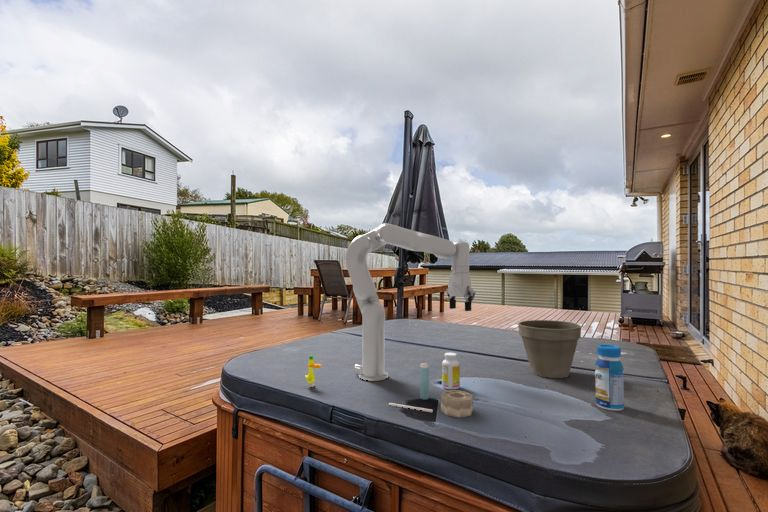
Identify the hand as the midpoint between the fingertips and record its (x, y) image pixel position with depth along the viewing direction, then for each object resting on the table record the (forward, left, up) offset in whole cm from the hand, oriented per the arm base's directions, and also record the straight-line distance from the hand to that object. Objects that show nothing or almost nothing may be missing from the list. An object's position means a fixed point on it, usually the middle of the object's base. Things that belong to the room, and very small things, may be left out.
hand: (460, 309), depth 160 cm
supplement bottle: (0, -19, -28) cm, 34 cm away
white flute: (-7, -45, -28) cm, 53 cm away
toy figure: (-49, -40, -28) cm, 69 cm away
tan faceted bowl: (+7, -41, -28) cm, 50 cm away
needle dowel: (-6, -34, -28) cm, 44 cm away
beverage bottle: (+53, -17, -28) cm, 62 cm away
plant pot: (+35, +16, -28) cm, 48 cm away
